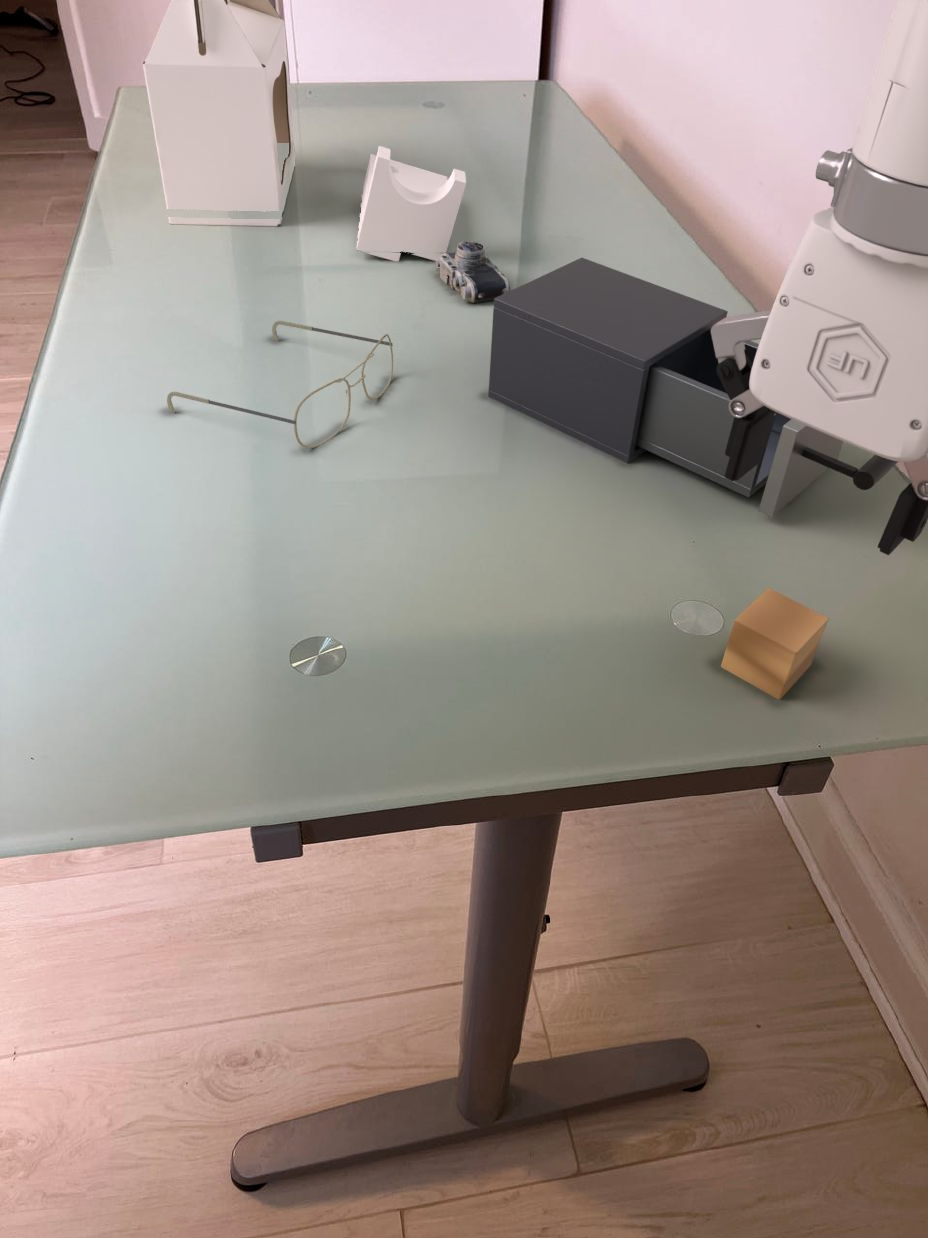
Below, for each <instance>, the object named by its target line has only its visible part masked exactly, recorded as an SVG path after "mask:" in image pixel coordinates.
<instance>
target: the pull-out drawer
mask: <svg viewBox="0 0 928 1238" xmlns="http://www.w3.org/2000/svg"><path fill="white" fill-rule="evenodd" d="M744 345H745V350H744V352H745V354H746V355H747V356H748V358H749V360H750V362H751V364H752V366H753V362H754V359H755V356H756V352H757V349H758V346H759V343H757V342H755V341H753V340H751V341H744ZM718 364H719V363H718V358H716V355H715V350H714V345H713V340H712V336H711V329H710V330H708V331H706V332H705V333H703V334H701V335H700V336H698V337H697V338H695V339H693V340H692V341H690V342H688V343H687V344H685V345H684V346H682V347H680V348H679V349H677V350H675V351H674V352H672V353H670V354H669V355H667V356H666V357H664V358H662V359H661V360H659V361H657V362H656V363H654V364H653V365H651V366H649V372H648V377H647V383H646V388H645V394H644V400H643V405H642V411H641V416H640V422H639V428H638V433H637V439H636V444H635V445H637V446H639V447H641V448H643V449H645V450H646V451H648V452H650V453H651V454H654V455H656V456H658V457H660V458H663V459H664V460H667V461H669V462H672V463H673V464H675V465H678V466H680V467H682V468H684V469H686V470H688V471H690V472H693V473H694V474H697V475H699V476H702V477H703V478H706V479H708V480H710V481H711V482H714V483H716V484H718V485H721V486H723V487H725V488H727V489H729V490H732V491H734V492H736V493H738V494H740V495H742V496H744V497H747V498H750V497H751V496H752V495H754V494H755V493H756V492H757V491H759V490H760V489H761V488H763V486H765V487H764V490H763V494H762V497H761V502H760V504H759V507H758V512H759V513H761V514H763V515H765V516H767V517H769V518H773V517H774V516H775V515H777V513H778V512H780V511H781V510H782V509H783V508H784V507H786V506H787V505H788V503H790V502H791V501H792V500H793V499H795V497H797V496H798V495H799V494H800V493H801V492H803V490H805V489H806V488H807V487H808V486H810V485H811V484H812V483H813V482H815V480H817V478H819V476H821V475H822V474H823V473H824V472H825V471H826V470H827V469H831V470H833V471H835V472H838V473H840V474H843V475H845V476H847V477H849V478H852V483H853V485H854V486H855V487H856V488H857V489H859V490H861V491H867V490H871V489H872V488H873V487H874V486H875V485H876V484H877V483H878V482H879V481H880V480H881V479H883V477H885V476H886V474H888V472H889V471H891V470H892V469H893V468H894V467H895V466H896V465H897V464H898V463H899V461H893V460H889V459H886V458H883V457H880V456H878V455H875V454H873V456H871V457H870V458H869V459H868V460H867V461H866V462H865V463H864V464H863V465H862V466H861V467H860V468H858V467H856V466H854V465H851V464H849V463H846V462H844V461H841V460H839V455H840V452H841V450H842V448H843V444H844V441H841V440H839V439H837V438H834V437H832V436H830V435H827V434H825V433H823V432H820V431H818V430H816V429H813V428H811V427H809V426H806V425H804V424H802V423H800V422H797V421H795V420H793V419H790V418H788V417H786V416H784V415H782V414H779V413H777V412H775V414H774V417H773V421H772V424H771V427H770V431H769V434H768V437H767V441H766V444H765V447H764V451H763V454H762V457H761V460H760V462H759V463H758V465H756V466H755V467H754V468H753V469H751V470H750V471H749V472H748V473H746V474H745V475H744V476H743V477H741V478H740V479H739V480H737V481H736V480H734V481H731V480H729V479H727V478H725V472H726V469H727V465H728V462H729V458H730V457H728V456H726V455H725V450H726V446H727V443H728V439H729V435H730V432H731V428H732V424H733V420H734V416H733V415H732V414H731V413H730V411H729V407H728V406H729V403H730V401H731V400H730V398H729V396H728V394H727V392H726V390H725V388H724V386H723V384H722V382H721V380H720V378H719V376H718V374H717V366H718ZM768 366H769V365H768Z"/></svg>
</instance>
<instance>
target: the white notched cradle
mask: <svg viewBox="0 0 928 1238" xmlns="http://www.w3.org/2000/svg"><path fill="white" fill-rule="evenodd" d="M466 186H467V175H466V171H463V170H460V169H457V168H453V169H452V172H451V174H450V176H449V177H448V176H447V175H443V174H439V173H436V172H433V171H429V170H426V169H423V168H419V167H416V166H413V165H410V164H406V163H403V162H400V161H397V160H394V159H391V149H390V148H387V147H385V146H380V145H378V148H377V152H376V154H373V153H370V155H369V160H368V164H367V169H366V174H365V177H364V183H363V187H362V190H363V194H362V193H361V197H362V203H361V202H360V207H361V213H360V212H359V217H360V222H359V221H358V228H359V231H358V230H357V238H358V241H357V240H356V248H357V250H377V251H378V250H379V251H390V252H401V253H366V254H367V255H372V256H375V257H377V258H378V257H379V258H381V259H386V260H388V261H393V262H399V261H400V259H401V254H402V252H403V253H406V252H419V253H431V252H432V253H433V252H446V253H447V251H448V247H449V244H450V240H451V238H452V234H453V230H454V227H455V223H456V220H457V216H458V214H459V210H460V206H461V203H462V199H463V197H464V194H465V189H466ZM412 255H413V256H417V257H421V258H424V259H428V260H430V261H434V262H436V261H438V260H439V258H440V257H441V256H442V254H412Z"/></svg>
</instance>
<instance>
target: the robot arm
mask: <svg viewBox="0 0 928 1238" xmlns="http://www.w3.org/2000/svg"><path fill="white" fill-rule="evenodd" d="M856 131H857V132H856V134H855V137H854V140H853V143H852V147H850V148H848V149H847V150H846V151H844V150H843V151H840V152H835V151H832V150H829V149H827V150H826V151H824V152H823V154H822V155H821V157H820V159H819V161H818V163H817V165H816V169H815V178H816V180H819V181H822V182H826V183H827V184H828V186H829V187H831V188H833V195H832V199H831V202H830V207H828V208H826V209H823V210H820V211H818V212H817V213H815V214H814V216H813V217H812V219H811V220H810V222H809V224H808V225H807V228H806V230H805V231H804V234H803V236H802V238H801V239H800V242H799V244H798V246H797V248H796V250H795V252H794V254H793V257H792V259H791V261H790V263H789V266H788V268H787V271H786V273H785V275H784V278H783V280H782V283H781V284H780V287H779V289H778V292H777V295H776V296H775V300H774V302H773V304H772V308H771V309H769V310H764V311H757V312H750V313H744V314H743V313H742V314H737V315H731V316H727V317H726V318H724V319H722V320H721V321H719V322H717V323H716V324H714V325H713V326H712V328H711V336H712V340H713V345H714V350H715V355H716V358H718V363H719V364H718V366H717V374H718V376H719V378H720V380H721V382H722V384H723V386H724V388H725V390H726V392H727V394H728V396H729V398H730V400H731V401H730V403H729V406H728V407H729V411H730V413H731V414H732V415H733V416H734V420H733V424H732V428H731V432H730V435H729V439H728V443H727V446H726V450H725V455H726V456H728V457H730V458H729V462H728V465H727V469H726V472H725V478H727V479H729V480H731V481H734V480H736V481H737V480H739V479H740V478H741V477H743V476H744V475H745V474H746V473H748V472H749V471H750V470H751V469H753V468H754V467H755V466H756V465H758V463H759V462H760V460H761V457H762V454H763V451H764V447H765V444H766V441H767V437H768V434H769V431H770V427H771V424H772V421H773V417H774V414H775V412H777V413H779V414H782V415H784V416H786V417H788V418H790V419H793V420H795V421H797V422H800V423H802V424H804V425H806V426H809V427H811V428H813V429H816V430H818V431H820V432H823V433H825V434H827V435H830V436H832V437H834V438H837V439H839V440H841V441H843V443H846V444H849V445H850V446H854V447H856V448H858V449H861V450H863V451H866V452H868V453H870V454H873V455H878V456H880V457H883V458H886V459H889V460H893V461H899V462H900V463H901V462H902V463H903V465H904V467H905V470H906V473H907V475H908V478H909V480H910V483H908V485H907V486H906V487H905V488H904V489H903V490H902V491H901V492H900V494H899V496H898V497H897V500H896V502H895V504H894V507H893V509H892V511H891V514H890V515H889V518H888V520H887V524H886V526H885V527H884V529H883V533H882V535H881V537H880V539H879V542H878V544H877V548H878V549H879V552H880V553H883V554H885V555H886V556H890V555H891V554H892V552H894V551H895V550H896V548H897V547H898V546H900V544H901V543H902V542H903V541H904V540H908V541H910V542H913V543H914V541H916V540H917V539H918V537H920V535H921V533H922V532H923V531H924V529H925V527H926V525H927V522H928V0H895V3H894V7H893V10H892V14H891V17H890V20H889V24H888V27H887V31H886V34H885V37H884V41H883V44H882V47H881V51H880V55H879V57H878V61H877V64H876V68H875V71H874V75H873V77H872V81H871V84H870V87H869V90H868V93H867V98H866V101H865V104H864V107H863V110H862V113H861V117H860V121H859V123H858V127H857V130H856ZM758 340H759V343H758V344H759V346H758V349H757V352H756V356H755V359H754V362H753V366H752V364H751V362H750V360H749V358H748V356H747V355H746V354H745V352H744V350H745V345H744V341H758ZM768 365H769V366H768ZM899 462H898V463H899Z"/></svg>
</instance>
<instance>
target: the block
mask: <svg viewBox="0 0 928 1238" xmlns="http://www.w3.org/2000/svg"><path fill="white" fill-rule="evenodd" d="M829 620H830V619H829V617H827V616H825V615H824V614H821V613H820V612H818V611H815V610H813V609H811V608H810V607H807V606H806V605H803V604H802V603H799V602H797V601H796V600H794V599H792V598H790V597H788V596H786V595H784V594H782V593H780V592H779V591H776V590H774V589H772V588H770V587H767V588H766V589H765V590H764V591H762V593H761V594H760V595H759V596H758V597H756V599H755V600H754V601H752V603H750V604H749V606H747V607H746V608H745V609H744V610H743V611H742V612H741V613H740V614H739V615H737V617H736V618H735V619H734V621H733V624H732V627H731V631H730V635H729V638H728V641H727V645H726V648H725V651H724V655H723V658H722V661H721V664H720V668H722V669H723V670H725V671H728V672H729V673H731V674H733V675H735V676H736V677H738V678H740V679H741V680H743V681H745V682H747V683H749V684H750V685H752V686H754V687H756V688H757V689H759V690H760V691H763V692H764V693H766V694H768V695H770V696H772V697H773V698H775V699H777V700H779V701H781V699H782V698H783V697H784V696H785V695H786V694H787V692H788V691H789V690H790V689H791V688H792V687H793V686H794V685H795V684H796V682H797V681H798V680H799V679H801V677H802V676H803V675H804V674H805V672H806V671H807V670H809V669H810V667H811V666H812V664H813V661H814V658H815V656H816V654H817V650H818V648H819V646H820V643H821V640H822V637H823V635H824V633H825V630H826V627H827V624H828V622H829Z"/></svg>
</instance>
